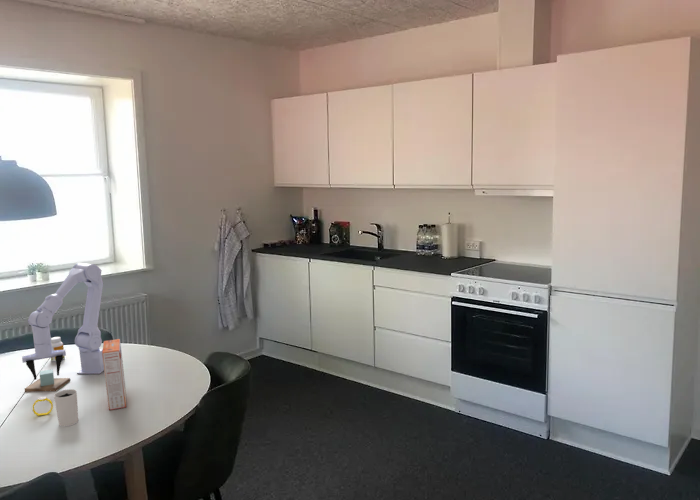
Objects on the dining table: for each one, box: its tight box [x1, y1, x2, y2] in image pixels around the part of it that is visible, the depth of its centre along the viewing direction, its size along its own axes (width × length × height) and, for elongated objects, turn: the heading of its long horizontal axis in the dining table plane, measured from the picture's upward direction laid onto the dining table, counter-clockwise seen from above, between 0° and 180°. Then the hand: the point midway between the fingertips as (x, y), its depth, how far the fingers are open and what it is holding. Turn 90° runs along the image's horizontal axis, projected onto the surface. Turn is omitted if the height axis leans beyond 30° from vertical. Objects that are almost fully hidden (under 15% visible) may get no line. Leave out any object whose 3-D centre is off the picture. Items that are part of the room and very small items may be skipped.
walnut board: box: [24, 377, 71, 393], centre depth 222 cm, size 12×10×1 cm
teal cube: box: [39, 368, 55, 386], centre depth 222 cm, size 4×4×4 cm
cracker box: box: [102, 338, 127, 411], centre depth 204 cm, size 14×6×21 cm, turn 21°
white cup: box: [53, 388, 79, 427], centre depth 190 cm, size 7×7×10 cm
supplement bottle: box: [50, 336, 66, 362], centre depth 252 cm, size 5×5×10 cm
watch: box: [32, 396, 54, 417], centre depth 197 cm, size 6×3×6 cm, turn 115°
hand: (46, 376), depth 222 cm, fingers open, 7 cm apart
